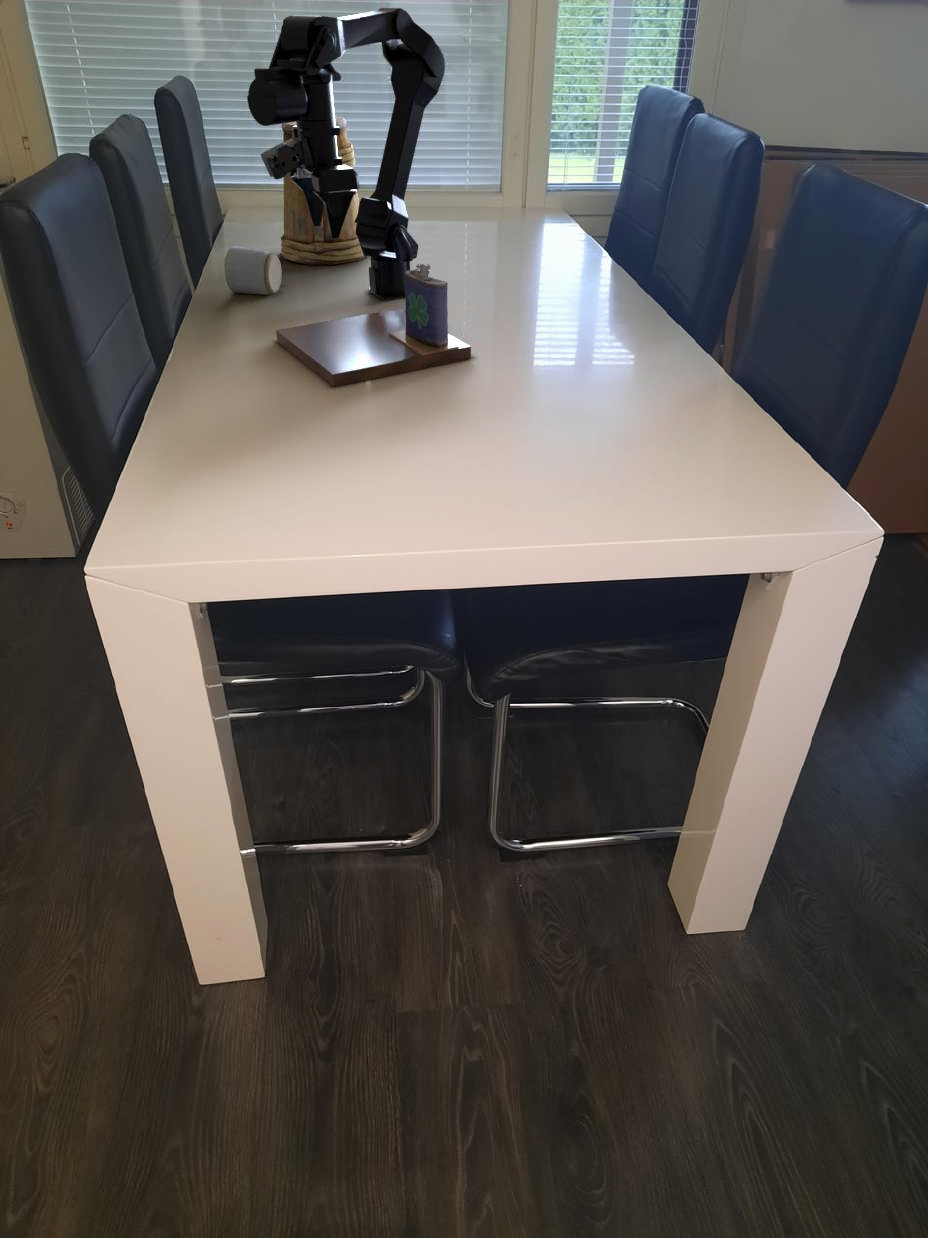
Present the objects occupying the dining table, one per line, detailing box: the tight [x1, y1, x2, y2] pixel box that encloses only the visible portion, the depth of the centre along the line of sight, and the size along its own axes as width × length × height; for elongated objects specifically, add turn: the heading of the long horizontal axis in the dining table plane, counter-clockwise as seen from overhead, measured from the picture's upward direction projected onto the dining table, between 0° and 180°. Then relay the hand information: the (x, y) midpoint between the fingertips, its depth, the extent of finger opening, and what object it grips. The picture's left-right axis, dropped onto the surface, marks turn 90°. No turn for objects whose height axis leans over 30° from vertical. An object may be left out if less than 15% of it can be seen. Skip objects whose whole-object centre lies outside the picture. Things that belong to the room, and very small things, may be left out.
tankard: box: [280, 113, 366, 266], centre depth 167 cm, size 18×24×25 cm
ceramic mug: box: [224, 245, 283, 296], centre depth 153 cm, size 11×8×8 cm
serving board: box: [275, 307, 472, 388], centre depth 129 cm, size 22×22×2 cm
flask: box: [404, 263, 449, 348], centre depth 124 cm, size 9×3×11 cm, turn 37°
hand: (325, 231), depth 136 cm, fingers open, 9 cm apart
